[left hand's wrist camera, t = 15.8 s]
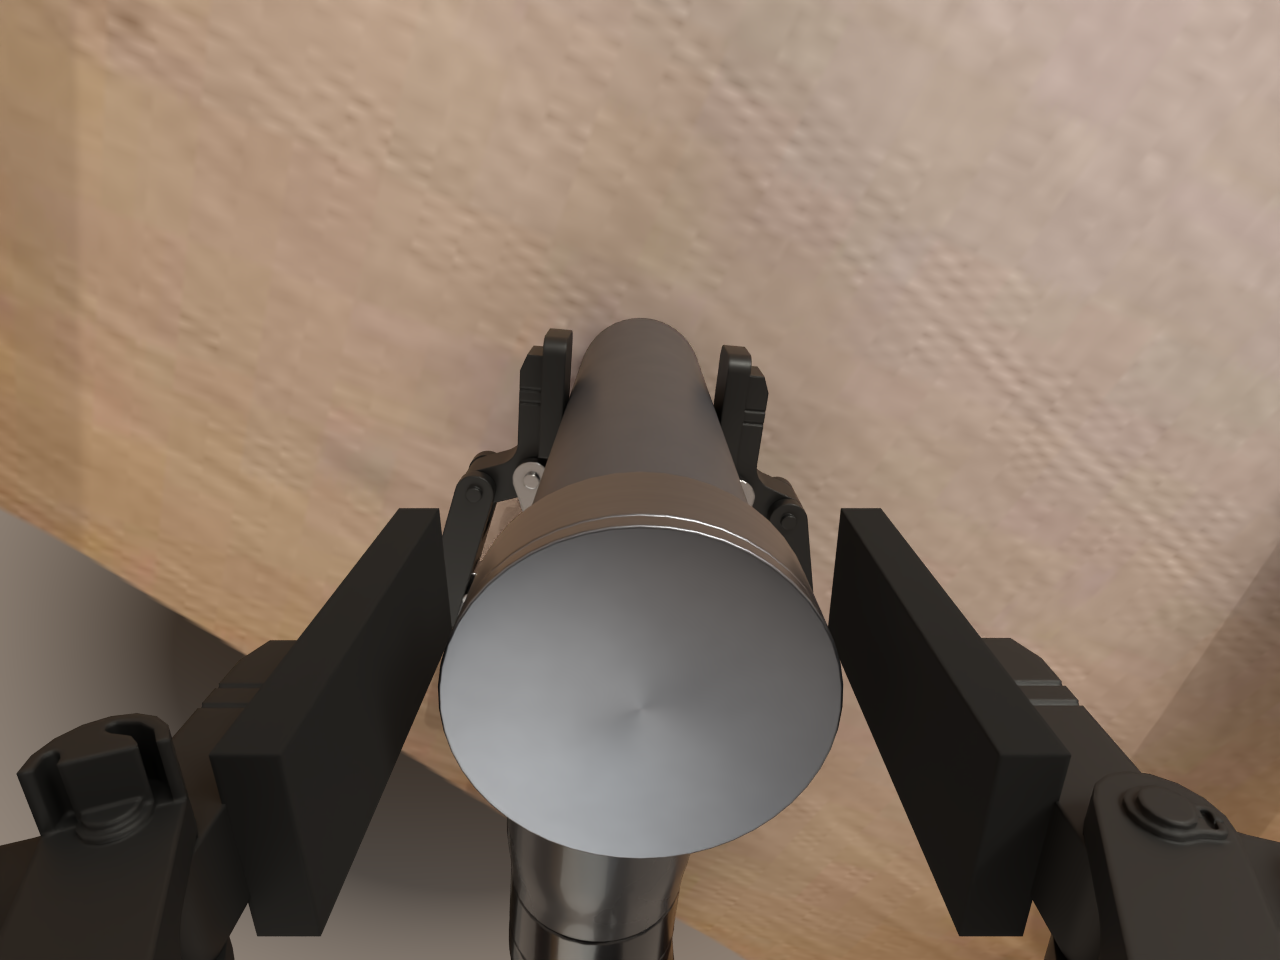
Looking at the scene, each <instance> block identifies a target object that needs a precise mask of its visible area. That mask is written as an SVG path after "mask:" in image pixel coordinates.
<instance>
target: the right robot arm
mask: <svg viewBox="0 0 1280 960" xmlns="http://www.w3.org/2000/svg"><path fill="white" fill-rule="evenodd" d="M572 339H573V332H572V330H562V329H551V328H550V329H549V331H548V332H547V334H546V335H545V338H544V345H543V346H533V347H532V349H531V350H530V352H529V353H528V354H527V357H526V359H525V361H524V363H523V365H522V368H521V370H520V392H519V423H518V445H517V446H516V447H514V448H512V449H510V450H507V451H503V452H499V453H495V452H492V451H483V452H481V453H479V454H477V455H476V456H475V457H474V459H473V460H472V462H471V464H470V466H469V469H468V471H467V472H466V474H465V475H464V476H463V477H462V478H461V479H460V481H459V482H458V484H457V486H456V489H455V492H454V496H453V499H452V503H451V507H450V510H449V514H448V517H447V521H446V524H445V528H444V532H443V535H442V540H443V550H444V559H445V568H446V577H447V586H448V596H449V605H450V614H451V623H452V628H453V627H454V624H455V622H456V620H457V617H458V615H459V613H460V610H461V608H462V606H463V604H464V601H465V599H466V597H467V594H468V592H469V590H470V587H471V585H472V583H473V581H474V578H475V576H476V574H477V572H478V569H479V567H480V565H481V563H482V561H479V560H480V556H481V553H482V550H483V547H484V543H485V540H486V537H487V533H488V530H489V527H490V524H491V520H492V517H493V514H494V510H495V507H496V504H497V502H500V501H504V500H508V499H512V498H516V497H518V499H519V502H520V505H521V508H522V511H524V510H526V509H527V508H528V507H530V506H531V505H532V503H533V500H534V498H535V495H536V492H537V489H538V486H539V483H540V480H541V478H542V475H543V472H544V469H545V466H546V463H547V460H548V458H549V455H550V452H551V449H552V446H553V443H554V441H555V438H556V435H557V432H558V429H559V426H560V423H561V421H562V418H563V415H564V412H565V409H566V406H567V403H568V401H569V392H570V375H571V358H572ZM767 399H768V390H767V385H766V381H765V377H764V375H763V374H762V373H761V371H760V370H759V368H758V367H754V366H751V355H750V354H749V352H748V351H747V349H746V348H745V347H739V346H729V345H723V346H722V349H721V354H720V361H719V369H718V376H717V384H716V391H715V399H714V409H715V411H716V414H717V417H718V420H719V423H720V426H721V428H722V431H723V434H724V437H725V440H726V442H727V445H728V448H729V451H730V454H731V457H732V459H733V462H734V465H735V468H736V471H737V473H738V476H739V479H740V482H741V485H742V488H743V490H744V493H745V496H746V499H747V502H748V505H750V506H752V507H753V508H754V509H755V510H757V511H758V512H759V513H760V514H761V515H763V516H764V517H765V518H766V519H767V520H769V521H770V522H771V524H772V525H773V526H774V527H775V528H776V529H777V530H778V531H779V532H780V534H781V535H782V536H783V537H784V538H785V540H786V541H787V543H788V544H789V546H790V547H791V549H792V550H793V552H794V553H795V555H796V556H797V559H798V561H799V563H800V565H801V567H802V569H803V571H804V573H805V576H806V578H807V580H808V583H809V585H810V587H811V589H812V592H813V584H812V571H811V558H810V546H809V533H808V520H807V515H806V512H805V511H804V509H803V507H802V505H801V503H800V501H799V499H798V497H797V495H796V494H795V492H794V490H793V488H792V486H791V484H790V483H789V482H788V481H787V480H786V479H784V478H781V477H771V476H769V475H766V474H764V473H762V472H760V471H759V470H758V469H757V461H758V455H759V449H760V443H761V436H762V430H763V423H764V418H765V410H766V405H767ZM507 834H508V843H509V850H510V856H511V867H512V868H511V891H510V921H509V949H510V956H511V960H674V955H673V942H672V936H673V931H674V921H675V915H676V909H677V902H678V896H679V889H680V884H681V880H682V876H683V873H684V871H685V868H686V865H687V863H688V859H689V856H690V854H685V855H679V856H672V857H665V858H646V859H636V858H616V857H609V856H602V855H595V854H591V853H587V852H583V851H579V850H575V849H571V848H568V847H565V846H562V845H559V844H557V843H554V842H551V841H548V840H546V839H544V838H542V837H540V836H538V835H536V834H534V833H532V832H530V831H528V830H526V829H525V828H523V827H521V826H520V825H518V824H517V823H515V822H513V821H512V820H510V819H509V818H507Z"/></svg>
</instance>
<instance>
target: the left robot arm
mask: <svg viewBox="0 0 1280 960" xmlns="http://www.w3.org/2000/svg"><path fill="white" fill-rule="evenodd" d="M828 628H829V630H830V633H831V635H832V637H833V640H834V642H835V646H836V649H837V653H838V656H839V659H840V661H841V664H842V666H843V668H844V670H845V673H846V675H847V677H848V680H849V682H850V684H851V687H852V689H853V691H854V694H855V696H856V698H857V701H858V703H859V705H860V708H861V710H862V712H863V714H864V717H865V719H866V721H867V724H868V726H869V728H870V731H871V733H872V735H873V738H874V740H875V742H876V745H877V747H878V749H879V751H880V754H881V756H882V758H883V761H884V763H885V765H886V768H887V770H888V772H889V775H890V777H891V779H892V782H893V784H894V786H895V789H896V791H897V793H898V795H899V798H900V800H901V802H902V805H903V807H904V809H905V812H906V814H907V816H908V819H909V821H910V823H911V826H912V828H913V830H914V832H915V835H916V837H917V839H918V842H919V844H920V846H921V849H922V851H923V853H924V856H925V858H926V860H927V863H928V865H929V867H930V870H931V872H932V874H933V876H934V879H935V881H936V883H937V886H938V888H939V890H940V893H941V895H942V897H943V900H944V902H945V904H946V907H947V909H948V911H949V913H950V916H951V918H952V920H953V923H954V925H955V927H956V930H957V932H958V934H959V936H1023V933H1024V929H1025V926H1026V922H1027V918H1028V915H1029V911H1030V907H1031V903H1032V900H1033V901H1034V903H1035V905H1036V907H1037V909H1038V910H1039V912H1040V914H1041V916H1042V918H1043V919H1044V921H1045V923H1046V925H1047V927H1048V928H1049V930H1050V932H1051V937H1050V941H1049V944H1048V947H1047V951H1046V954H1045V958H1044V960H1280V842H1276V841H1271V840H1267V839H1263V838H1258V837H1254V836H1250V835H1246V834H1242V833H1239V832H1236V830H1235V829H1234V827H1233V826H1232V824H1231V823H1230V822H1229V820H1228V819H1227V817H1226V816H1225V815H1224V814H1223V813H1221V812H1220V811H1219V810H1218V809H1217V808H1215V807H1214V806H1213V805H1212V804H1211V803H1209V802H1208V801H1207V800H1206V799H1205V798H1203V797H1201V796H1199V795H1198V794H1196V793H1194V792H1192V791H1190V790H1189V789H1187V788H1185V787H1183V786H1181V785H1179V784H1178V783H1175V782H1172V781H1169V780H1166V779H1163V778H1160V777H1157V776H1154V775H1151V774H1146V773H1141V772H1140V771H1139V770H1138V768H1137V767H1136V766H1135V765H1134V764H1133V763H1132V762H1131V760H1130V759H1129V758H1128V757H1127V756H1126V755H1125V754H1124V752H1123V751H1122V750H1121V749H1120V748H1119V747H1118V745H1117V744H1116V743H1115V742H1114V741H1113V740H1112V739H1111V737H1110V736H1109V735H1108V734H1107V733H1106V732H1105V731H1104V729H1103V728H1102V727H1101V726H1100V725H1099V724H1098V723H1097V721H1096V720H1095V719H1094V718H1093V717H1092V716H1091V714H1090V713H1089V712H1088V711H1087V710H1086V709H1085V708H1084V706H1079V703H1078V700H1077V698H1076V697H1075V696H1074V695H1073V694H1072V693H1071V692H1070V690H1069V689H1068V688H1067V687H1066V686H1062V681H1061V680H1060V679H1059V678H1058V677H1057V675H1056V674H1055V673H1054V672H1053V671H1052V670H1051V669H1050V667H1049V666H1048V665H1047V664H1046V663H1045V662H1044V660H1043V659H1042V658H1041V657H1039V656H1037V655H1036V654H1034V653H1033V652H1031V651H1030V650H1028V649H1027V648H1025V647H1024V646H1022V645H1020V644H1019V643H1017V642H1016V641H1014V640H1013V639H1011V638H981V637H980V636H979V635H978V633H977V632H976V631H975V629H974V628H973V627H972V626H971V624H970V623H969V622H968V620H967V619H966V618H965V617H964V615H963V614H962V613H961V611H960V610H959V609H958V607H957V606H956V605H955V604H954V602H953V601H952V600H951V598H950V597H949V596H948V595H947V593H946V592H945V591H944V589H943V588H942V587H941V585H940V584H939V583H938V582H937V580H936V579H935V578H934V576H933V575H932V574H931V573H930V571H929V570H928V569H927V567H926V566H925V565H924V564H923V562H922V561H921V560H920V558H919V557H918V556H917V554H916V553H915V552H914V551H913V549H912V548H911V547H910V545H909V544H908V543H907V542H906V540H905V539H904V538H903V536H902V535H901V534H900V533H899V531H898V530H897V529H896V527H895V526H894V525H893V523H892V522H891V521H890V520H889V518H888V517H887V516H886V514H885V513H884V512H883V511H882V509H881V508H841V513H840V522H839V531H838V540H837V549H836V559H835V568H834V577H833V586H832V595H831V605H830V614H829V623H828ZM451 631H452V623H451V614H450V605H449V596H448V586H447V577H446V568H445V559H444V550H443V540H442V531H441V522H440V513H439V508H399V509H398V511H397V512H396V513H395V514H394V516H393V517H392V518H391V520H390V521H389V522H388V523H387V525H386V526H385V527H384V529H383V530H382V531H381V532H380V534H379V535H378V536H377V538H376V539H375V540H374V542H373V543H372V544H371V545H370V547H369V548H368V549H367V551H366V552H365V553H364V554H363V556H362V557H361V558H360V560H359V561H358V562H357V564H356V565H355V566H354V567H353V569H352V570H351V571H350V573H349V574H348V575H347V576H346V578H345V579H344V580H343V582H342V583H341V584H340V585H339V587H338V588H337V589H336V591H335V592H334V593H333V595H332V596H331V597H330V598H329V600H328V601H327V602H326V604H325V605H324V606H323V607H322V609H321V610H320V611H319V613H318V614H317V615H316V616H315V618H314V619H313V620H312V622H311V623H310V624H309V626H308V627H307V628H306V629H305V631H304V632H303V633H302V635H301V636H300V637H299V638H298V640H270V641H268V642H267V643H265V644H264V645H262V646H261V647H259V648H258V649H256V650H254V651H253V652H251V653H250V654H248V655H247V656H245V657H244V658H242V659H241V660H239V661H238V662H237V664H236V665H235V666H234V667H233V668H232V669H231V670H230V672H229V673H228V674H227V675H226V676H225V677H224V679H223V680H222V681H221V682H220V683H219V688H215V689H214V690H213V691H212V692H211V694H210V695H209V696H208V697H207V698H206V699H205V701H204V702H203V703H202V708H198V709H197V710H196V711H195V712H194V713H193V714H192V716H191V717H190V718H189V719H188V720H187V721H186V723H185V724H184V725H183V726H182V727H181V728H180V729H179V731H178V732H177V733H176V734H175V735H174V736H173V737H171V733H170V730H169V726H168V725H167V724H166V723H165V722H164V721H162V720H161V719H160V718H158V717H157V716H152V715H145V714H138V713H135V714H126V715H118V716H110V717H107V718H104V719H100V720H97V721H94V722H90V723H87V724H84V725H81V726H79V727H77V728H75V729H73V730H71V731H69V732H67V733H65V734H63V735H61V736H59V737H57V738H55V739H53V740H52V741H51V742H49V743H48V744H46V745H45V746H44V747H42V748H41V749H40V750H38V751H37V752H36V753H34V754H33V755H31V756H30V758H29V759H28V760H27V761H26V763H25V764H24V765H23V766H22V768H21V769H20V770H19V771H18V772H17V776H18V779H19V781H20V784H21V787H22V789H23V792H24V794H25V797H26V799H27V802H28V804H29V807H30V809H31V812H32V814H33V817H34V819H35V822H36V825H37V827H38V830H39V832H40V835H41V836H39V837H35V838H32V839H27V840H23V841H18V842H14V843H10V844H6V845H1V846H0V960H234V954H233V947H232V944H231V941H230V937H229V936H230V934H231V932H232V930H233V929H234V927H235V925H236V923H237V921H238V919H239V918H240V916H241V914H242V912H243V911H244V909H245V907H246V905H247V903H248V904H249V907H250V911H251V915H252V918H253V922H254V926H255V929H256V933H257V936H321V934H322V932H323V930H324V927H325V925H326V923H327V920H328V918H329V916H330V913H331V911H332V909H333V907H334V904H335V902H336V900H337V897H338V895H339V893H340V890H341V888H342V886H343V883H344V881H345V879H346V876H347V874H348V872H349V869H350V867H351V865H352V863H353V860H354V858H355V856H356V853H357V851H358V849H359V846H360V844H361V842H362V839H363V837H364V835H365V832H366V830H367V828H368V826H369V823H370V821H371V819H372V816H373V814H374V812H375V809H376V807H377V805H378V802H379V800H380V798H381V795H382V793H383V791H384V788H385V786H386V784H387V781H388V779H389V777H390V775H391V772H392V770H393V768H394V765H395V763H396V761H397V758H398V756H399V754H400V751H401V749H402V747H403V744H404V742H405V740H406V738H407V735H408V733H409V731H410V728H411V726H412V724H413V721H414V719H415V717H416V714H417V712H418V710H419V707H420V705H421V703H422V701H423V698H424V696H425V694H426V691H427V689H428V687H429V684H430V682H431V680H432V677H433V675H434V673H435V670H436V668H437V666H438V663H439V661H440V659H441V657H442V654H443V652H444V650H445V646H446V643H447V640H448V638H449V636H450V634H451Z"/></svg>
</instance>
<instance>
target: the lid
mask: <svg viewBox="0 0 1280 960" xmlns="http://www.w3.org/2000/svg"><path fill="white" fill-rule="evenodd" d="M438 697H439V711H440V715H441V720H442V725H443V730H444V733H445V736H446V738H447V741H448V744H449V746H450V749H451V752H452V753H453V755H454V757H455V759H456V761H457V762H458V764H459V766H460V768H461V770H462V771H463V773H464V774H465V775H466V777H467V778H468V779H469V781H470V782H471V783H472V785H473V786H474V787H475V789H476V790H477V791H478V792H479V793H480V794H481V795H482V796H483V797H484V798H485V799H486V800H487V801H488V802H489V803H490V804H491V805H492V806H494V807H495V808H496V809H497V810H499V811H500V812H501V813H502V814H504V815H505V816H506V817H507V818H509V819H510V820H512V821H513V822H515V823H517V824H518V825H520V826H521V827H523V828H525V829H526V830H528V831H530V832H532V833H534V834H536V835H538V836H540V837H542V838H544V839H546V840H548V841H551V842H554V843H557V844H559V845H562V846H565V847H568V848H571V849H575V850H579V851H583V852H587V853H591V854H595V855H602V856H609V857H616V858H636V859H646V858H665V857H672V856H679V855H685V854H691V853H695V852H698V851H702V850H706V849H710V848H713V847H716V846H719V845H722V844H724V843H727V842H730V841H732V840H735V839H737V838H739V837H741V836H743V835H745V834H747V833H749V832H751V831H753V830H755V829H757V828H758V827H760V826H761V825H763V824H764V823H766V822H768V821H769V820H771V819H772V818H774V817H775V816H776V815H778V814H779V813H780V812H781V811H782V810H784V809H785V808H786V807H787V806H789V805H790V804H791V803H792V802H793V801H794V800H795V799H796V798H797V797H798V796H799V795H800V794H801V793H802V792H803V791H804V790H805V788H806V787H807V786H808V785H809V784H810V782H811V781H812V779H813V778H814V777H815V775H816V774H817V773H818V771H819V770H820V768H821V766H822V765H823V763H824V761H825V759H826V757H827V755H828V753H829V752H830V750H831V747H832V744H833V741H834V739H835V736H836V733H837V730H838V726H839V721H840V716H841V711H842V703H843V679H842V671H841V663H840V659H839V656H838V653H837V649H836V646H835V642H834V640H833V637H832V635H831V633H830V630H829V628H828V626H827V624H826V621H825V619H824V617H823V614H822V612H821V610H820V608H819V605H818V603H817V601H816V598H815V596H814V594H813V592H812V589H811V587H810V585H809V583H808V580H807V578H806V576H805V573H804V571H803V569H802V567H801V565H800V563H799V561H798V559H797V556H796V555H795V553H794V552H793V550H792V549H791V547H790V546H789V544H788V543H787V541H786V540H785V538H784V537H783V536H782V535H781V534H780V532H779V531H778V530H777V529H776V528H775V527H774V526H773V525H772V524H771V522H770V521H769V520H767V519H766V518H765V517H764V516H763V515H761V514H760V513H759V512H758V511H757V510H755V509H754V508H753V507H752V506H750V505H748V504H747V503H745V502H744V501H742V500H741V499H739V498H737V497H736V496H734V495H733V494H730V493H728V492H726V491H724V490H722V489H720V488H717V487H715V486H713V485H711V484H708V483H704V482H701V481H698V480H695V479H692V478H688V477H683V476H678V475H672V474H667V473H654V472H627V473H614V474H609V475H604V476H598V477H593V478H589V479H586V480H583V481H580V482H577V483H574V484H571V485H568V486H566V487H564V488H561V489H559V490H557V491H555V492H553V493H551V494H549V495H547V496H545V497H544V498H542V499H540V500H539V501H537V502H536V503H534V504H533V505H531V506H530V507H528V508H527V509H526V510H524V511H523V512H522V513H521V514H520V515H519V516H517V517H516V518H515V519H514V520H513V521H512V522H510V523H509V525H508V526H507V527H506V528H505V529H504V530H503V531H502V533H501V534H500V535H499V536H498V537H497V538H496V539H495V541H494V543H493V544H492V546H491V547H490V549H489V550H488V552H487V553H486V555H485V556H484V558H483V561H482V563H481V565H480V567H479V569H478V572H477V574H476V576H475V578H474V581H473V583H472V585H471V587H470V590H469V592H468V594H467V597H466V599H465V601H464V604H463V606H462V608H461V610H460V613H459V615H458V617H457V620H456V622H455V624H454V627H453V629H452V631H451V634H450V636H449V638H448V640H447V643H446V646H445V650H444V654H443V657H442V661H441V664H440V673H439V682H438Z"/></svg>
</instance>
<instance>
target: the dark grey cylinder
mask: <svg viewBox="0 0 1280 960" xmlns="http://www.w3.org/2000/svg"><path fill="white" fill-rule="evenodd" d="M627 472H654V473H667V474H672V475H678V476H683V477H688V478H692V479H695V480H698V481H701V482H704V483H708V484H711V485H713V486H715V487H717V488H720V489H722V490H724V491H726V492H728V493H730V494H733V495H734V496H736V497H737V498H739V499H741V500H742V501H744V502H745V503H747V504H748V502H747V499H746V496H745V493H744V490H743V488H742V485H741V482H740V479H739V476H738V473H737V471H736V468H735V465H734V462H733V459H732V457H731V454H730V451H729V448H728V445H727V442H726V440H725V437H724V434H723V431H722V428H721V426H720V423H719V420H718V417H717V414H716V411H715V409H714V406H713V403H712V400H711V397H710V394H709V392H708V389H707V386H706V383H705V380H704V378H703V375H702V372H701V369H700V366H699V363H698V361H697V358H696V355H695V353H694V351H693V349H692V347H691V346H690V344H689V343H688V341H687V340H686V339H685V338H684V337H683V336H682V335H681V334H680V333H679V332H678V331H677V330H675V329H674V328H672V327H671V326H669V325H667V324H665V323H663V322H660V321H656V320H652V319H646V318H635V319H628V320H623V321H621V322H618V323H615V324H613V325H611V326H609V327H608V328H606V329H605V330H604V331H602V332H601V333H600V334H599V335H598V336H597V337H596V338H595V339H594V340H593V341H592V343H591V344H590V346H589V347H588V349H587V351H586V353H585V355H584V358H583V361H582V364H581V366H580V369H579V372H578V375H577V378H576V381H575V383H574V386H573V389H572V392H571V395H570V398H569V401H568V403H567V406H566V409H565V412H564V415H563V418H562V421H561V423H560V426H559V429H558V432H557V435H556V438H555V441H554V443H553V446H552V449H551V452H550V455H549V458H548V460H547V463H546V466H545V469H544V472H543V475H542V478H541V480H540V483H539V486H538V489H537V492H536V495H535V498H534V500H533V503H532V505H533V504H534V503H536V502H537V501H539V500H540V499H542V498H544V497H545V496H547V495H549V494H551V493H553V492H555V491H557V490H559V489H561V488H564V487H566V486H568V485H571V484H574V483H577V482H580V481H583V480H586V479H589V478H593V477H598V476H604V475H609V474H614V473H627Z"/></svg>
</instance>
